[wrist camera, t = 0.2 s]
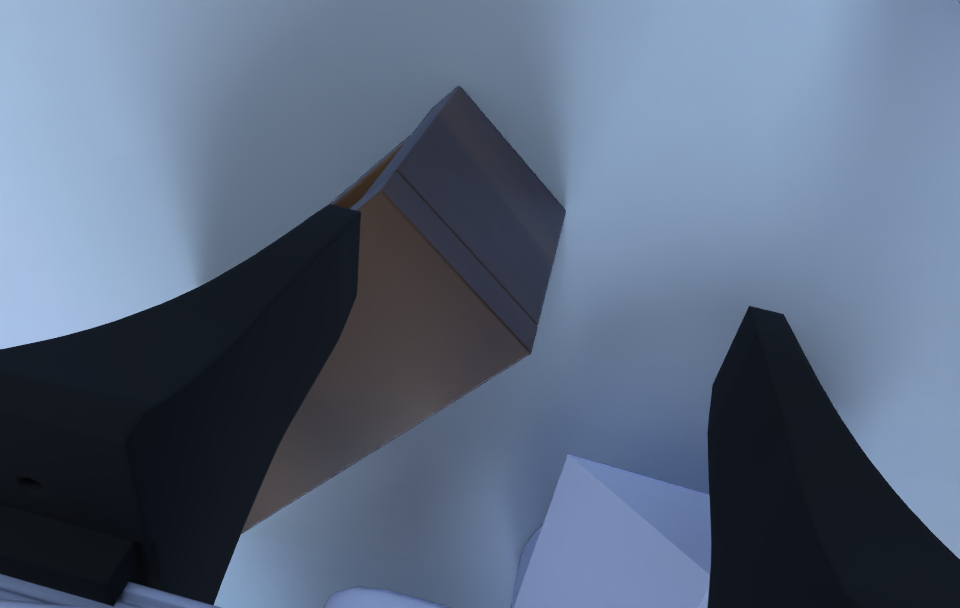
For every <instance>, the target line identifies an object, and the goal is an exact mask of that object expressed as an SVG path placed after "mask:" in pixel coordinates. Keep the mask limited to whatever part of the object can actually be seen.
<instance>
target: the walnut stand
mask: <svg viewBox="0 0 960 608" xmlns="http://www.w3.org/2000/svg"><path fill="white" fill-rule="evenodd" d="M330 204H332V205H336V206H340V207H344V208H348V209H352V210H356V211H360V212H361V224H360V244H359V264H358V284H357V297H356V299H355V302H354V304H353V307H352V309H351V312H350V314H349V317H348V319H347V322H346V324H345V326H344V329H343V331H342V333H341V336H340V338H339V340H338V342H337V344H336V346H335V347H334V349H333V351H332V353H331V354H330V356H329V358H328V360H327V361H326V363H325V365H324V367H323V368H322V370H321V372H320V374H319V375H318V377H317V379H316V380H315V382H314V384H313V386H312V387H311V389H310V391H309V393H308V394H307V396H306V398H305V399H304V401H303V403H302V405H301V406H300V408H299V410H298V411H297V413H296V415H295V417H294V418H293V420H292V422H291V423H290V425H289V427H288V429H287V431H286V433H285V435H284V436H283V438H282V440H281V442H280V444H279V446H278V448H277V451H276V453H275V455H274V457H273V460H272V462H271V464H270V466H269V469H268V471H267V473H266V476H265V478H264V480H263V482H262V485H261V487H260V489H259V492H258V494H257V496H256V499H255V501H254V504H253V506H252V508H251V511H250V513H249V516H248V518H247V520H246V523H245V525H244V527H243V530H242V532H241V534H242V533H244V532H245V531H247V530H248V529H250V528H252V527H253V526H255V525H256V524H258V523H260V522H261V521H263V520H264V519H266V518H268V517H269V516H271V515H273V514H274V513H276V512H277V511H279V510H281V509H282V508H284V507H285V506H287V505H289V504H290V503H292V502H293V501H295V500H297V499H298V498H300V497H301V496H303V495H305V494H306V493H308V492H309V491H311V490H313V489H314V488H316V487H317V486H319V485H321V484H322V483H324V482H326V481H327V480H329V479H330V478H332V477H334V476H335V475H337V474H338V473H340V472H342V471H343V470H345V469H346V468H348V467H350V466H351V465H353V464H354V463H356V462H358V461H359V460H361V459H362V458H364V457H366V456H367V455H369V454H370V453H372V452H374V451H375V450H377V449H379V448H380V447H382V446H383V445H385V444H387V443H388V442H390V441H391V440H393V439H395V438H396V437H398V436H399V435H401V434H403V433H404V432H406V431H407V430H409V429H411V428H412V427H414V426H415V425H417V424H419V423H420V422H422V421H423V420H425V419H427V418H428V417H430V416H432V415H433V414H435V413H436V412H438V411H440V410H441V409H443V408H444V407H446V406H448V405H449V404H451V403H452V402H454V401H456V400H457V399H459V398H460V397H462V396H464V395H465V394H467V393H468V392H470V391H472V390H473V389H475V388H477V387H478V386H480V385H481V384H483V383H485V382H486V381H488V380H489V379H491V378H493V377H494V376H496V375H497V374H499V373H501V372H502V371H504V370H505V369H507V368H509V367H510V366H512V365H513V364H515V363H517V362H518V361H520V360H521V359H523V358H525V357H526V356H528V355H530V354H531V352H532V348H533V344H534V340H535V336H536V332H537V328H538V327H537V325H538V322H539V318H540V314H541V310H542V306H543V302H544V298H545V294H546V290H547V286H548V282H549V278H550V274H551V270H552V266H553V262H554V258H555V254H556V249H557V245H558V241H559V237H560V233H561V229H562V225H563V221H564V217H565V213H566V211H565V209H564V208H563V207H562V205H561V204H560V203H559V202H558V201H557V200H556V198H555V197H554V196H553V195H552V194H551V193H550V191H549V190H548V189H547V188H546V187H545V185H544V184H543V183H542V182H541V181H540V180H539V178H538V177H537V176H536V175H535V174H534V173H533V171H532V170H531V169H530V168H529V167H528V165H527V164H526V163H525V162H524V161H523V160H522V158H521V157H520V156H519V155H518V154H517V152H516V151H515V150H514V149H513V148H512V147H511V145H510V144H509V143H508V142H507V141H506V140H505V138H504V137H503V136H502V135H501V134H500V132H499V131H498V130H497V129H496V128H495V127H494V125H493V124H492V123H491V122H490V121H489V119H488V118H487V117H486V116H485V115H484V114H483V112H482V111H481V110H480V109H479V108H478V107H477V105H476V104H475V103H474V102H473V101H472V99H471V98H470V97H469V96H468V95H467V94H466V92H465V91H464V90H463V89H462V88H461V87H460V86H458V87H456V88H455V89H454V90H453V91H452V92H451V93H449V94H448V95H447V96H446V97H445V98H444V99H442V100H441V101H440V102H439V103H438V104H437V105H435V106H434V107H433V108H432V109H431V110H430V112H429V113H428V114H427V115H426V117H425V118H424V119H423V121H422V122H421V123H420V124H419V126H418V127H417V128H416V130H415V131H414V132H413V133H412V135H410V136H408V137H407V138H406V139H405V140H404V141H402V142H401V143H400V144H399V145H398V146H397V147H395V148H394V149H393V150H392V151H391V152H390V153H388V154H387V155H386V156H385V157H384V158H383V159H381V160H380V161H379V162H378V163H377V164H376V165H374V166H373V167H372V168H371V169H370V170H368V171H367V172H366V173H365V174H364V175H363V176H361V177H360V178H359V179H358V180H357V181H356V182H354V183H353V184H352V185H351V186H350V187H349V188H347V189H346V190H345V191H344V192H343V193H342V194H340V195H339V196H338V197H337V198H336V199H335V200H333V201H332V202H331V203H330Z"/></svg>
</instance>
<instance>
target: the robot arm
mask: <svg viewBox="0 0 960 608" xmlns="http://www.w3.org/2000/svg"><path fill="white" fill-rule="evenodd" d="M360 224H361V212H360V211H356V210H352V209H348V208H344V207H340V206H336V205H332V204H329V205H327V206H326V207H324V208H323V209H321V210H320V211H318V212H317V213H315V214H314V215H312V216H311V217H310V218H308V219H307V220H305V221H304V222H302V223H301V224H300V225H298V226H297V227H295V228H294V229H292V230H291V231H290V232H288V233H287V234H285V235H284V236H282V237H281V238H279V239H278V240H276V241H275V242H273V243H272V244H270V245H269V246H267V247H266V248H264V249H263V250H261V251H260V252H258V253H257V254H255V255H254V256H252V257H250V258H249V259H247V260H246V261H244V262H242V263H241V264H239V265H237V266H235V267H234V268H232V269H230V270H229V271H227V272H225V273H223V274H222V275H220V276H218V277H217V278H215V279H213V280H211V281H209V282H207V283H206V284H204V285H202V286H200V287H198V288H196V289H194V290H191V291H189V292H187V293H185V294H183V295H180V296H178V297H176V298H174V299H172V300H169V301H167V302H165V303H162V304H160V305H157V306H155V307H152V308H149V309H147V310H144V311H141V312H139V313H136V314H133V315H131V316H128V317H125V318H123V319H120V320H117V321H114V322H111V323H108V324H104V325H101V326H98V327H95V328H91V329H88V330H84V331H81V332H77V333H73V334H70V335H66V336H62V337H58V338H54V339H49V340H45V341H40V342H35V343H30V344H25V345H21V346H16V347H11V348H6V349H0V608H220V607H217V606H213V605H214V602H215V599H216V597H217V594H218V591H219V589H220V586H221V583H222V580H223V578H224V575H225V573H226V570H227V568H228V565H229V563H230V560H231V558H232V555H233V553H234V550H235V548H236V545H237V542H238V540H239V537H240V535H241V532H242V530H243V527H244V525H245V523H246V520H247V518H248V516H249V513H250V511H251V508H252V506H253V504H254V501H255V499H256V496H257V494H258V492H259V489H260V487H261V485H262V482H263V480H264V478H265V476H266V473H267V471H268V469H269V466H270V464H271V462H272V460H273V457H274V455H275V453H276V451H277V448H278V446H279V444H280V442H281V440H282V438H283V436H284V435H285V433H286V431H287V429H288V427H289V425H290V423H291V422H292V420H293V418H294V417H295V415H296V413H297V411H298V410H299V408H300V406H301V405H302V403H303V401H304V399H305V398H306V396H307V394H308V393H309V391H310V389H311V387H312V386H313V384H314V382H315V380H316V379H317V377H318V375H319V374H320V372H321V370H322V368H323V367H324V365H325V363H326V361H327V360H328V358H329V356H330V354H331V353H332V351H333V349H334V347H335V346H336V344H337V342H338V340H339V338H340V336H341V333H342V331H343V329H344V326H345V324H346V322H347V319H348V317H349V314H350V312H351V309H352V307H353V304H354V302H355V299H356V297H357V284H358V264H359V244H360ZM708 466H709V494H710V520H711V568H710V581H709V594H708V607H707V608H960V559H959V558H958V557H956V556H955V555H954V554H953V553H952V552H951V551H950V550H949V549H948V548H947V547H946V546H945V545H944V544H943V543H942V542H941V541H940V540H939V539H938V538H937V537H936V536H935V535H934V534H933V533H932V532H931V531H930V530H929V529H928V528H927V527H926V526H925V524H924V523H923V522H922V521H921V520H920V519H919V518H918V517H917V516H916V515H915V514H914V513H913V512H912V511H911V509H910V508H909V507H908V506H907V505H906V504H905V503H904V502H903V500H902V499H901V498H900V497H899V496H898V495H897V494H896V492H895V491H894V490H893V489H892V488H891V486H890V485H889V484H888V483H887V481H886V480H885V479H884V478H883V476H882V475H881V474H880V472H879V471H878V470H877V469H876V467H875V466H874V465H873V464H872V462H871V461H870V460H869V458H868V457H867V456H866V454H865V453H864V452H863V450H862V449H861V447H860V446H859V445H858V443H857V442H856V440H855V439H854V437H853V436H852V434H851V433H850V431H849V430H848V428H847V427H846V425H845V424H844V422H843V421H842V419H841V418H840V416H839V414H838V413H837V411H836V410H835V408H834V406H833V404H832V403H831V401H830V399H829V398H828V396H827V394H826V392H825V391H824V389H823V387H822V386H821V384H820V382H819V380H818V378H817V377H816V375H815V373H814V371H813V369H812V367H811V366H810V364H809V362H808V360H807V358H806V356H805V354H804V352H803V350H802V348H801V347H800V345H799V343H798V341H797V339H796V337H795V335H794V333H793V331H792V329H791V327H790V325H789V324H788V322H787V320H786V318H785V316H784V314H780V313H776V312H772V311H768V310H763V309H759V308H755V307H751V306H749V308H748V310H747V312H746V314H745V316H744V319H743V321H742V323H741V325H740V327H739V329H738V331H737V334H736V336H735V338H734V340H733V342H732V344H731V347H730V349H729V351H728V353H727V355H726V357H725V359H724V362H723V364H722V366H721V368H720V370H719V372H718V375H717V377H716V379H715V381H714V383H713V387H712V395H711V404H710V413H709V424H708ZM323 608H450V607H446V606H443V605H439V604H436V603H432V602H428V601H425V600H421V599H418V598H414V597H410V596H407V595H403V594H400V593H396V592H392V591H389V590H383V589H375V588H367V587H360V586H359V587H355V588H351V589H347V590H344V591H340V592H336V593H333V594H331V595H330V597H329V599H328V600H327V602H326V603H325V605H324V607H323Z"/></svg>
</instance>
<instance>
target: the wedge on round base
mask: <svg viewBox="0 0 960 608" xmlns="http://www.w3.org/2000/svg"><path fill="white" fill-rule="evenodd" d="M710 568H711V520H710V495H709V494H705V493H702V492H698V491H695V490H691V489H688V488H684V487H681V486H677V485H674V484H670V483H667V482H664V481H660V480H657V479H653V478H650V477H646V476H643V475H639V474H636V473H632V472H629V471H625V470H622V469H619V468H615V467H612V466H608V465H605V464H601V463H598V462H594V461H591V460H587V459H584V458H580V457H577V456H574V455H570V454H568V455H567V458H566V461H565V464H564V466H563V469H562V472H561V475H560V478H559V481H558V483H557V486H556V489H555V492H554V495H553V498H552V500H551V503H550V506H549V509H548V512H547V515H546V517H545V520H544V523H543V525H542V526H541V527H540V528H539V529H538V530H537V531H536V532H535V533H534V534H533V535H532V536H531V538H530V539H529V541H528V542H527V544H526V545H525V548H524V550H523V552H522V554H521V558H520V563H519V567H518V573H517V578H516V583H515V588H514V593H513V598H512V603H511V608H707V607H708V594H709V581H710Z"/></svg>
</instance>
